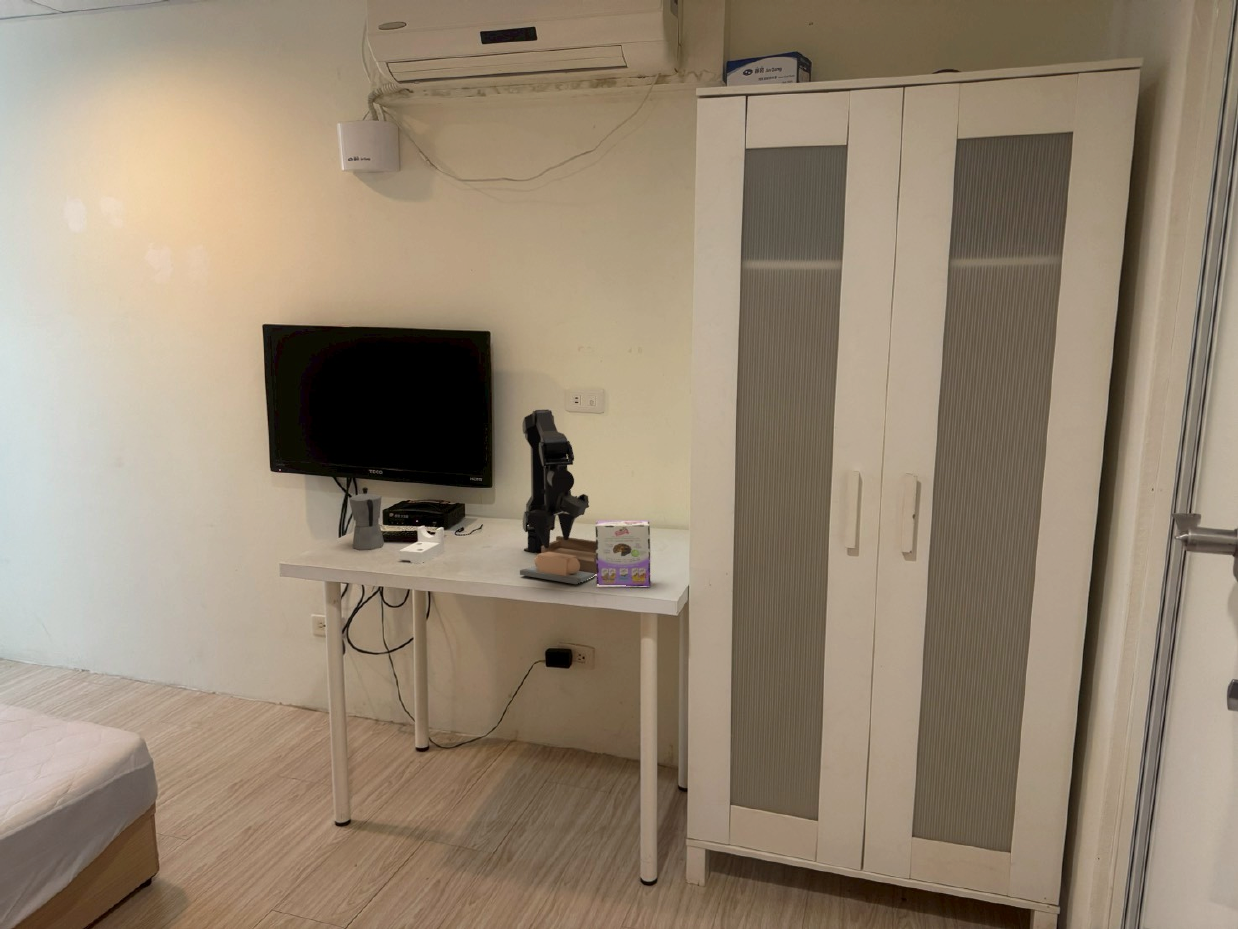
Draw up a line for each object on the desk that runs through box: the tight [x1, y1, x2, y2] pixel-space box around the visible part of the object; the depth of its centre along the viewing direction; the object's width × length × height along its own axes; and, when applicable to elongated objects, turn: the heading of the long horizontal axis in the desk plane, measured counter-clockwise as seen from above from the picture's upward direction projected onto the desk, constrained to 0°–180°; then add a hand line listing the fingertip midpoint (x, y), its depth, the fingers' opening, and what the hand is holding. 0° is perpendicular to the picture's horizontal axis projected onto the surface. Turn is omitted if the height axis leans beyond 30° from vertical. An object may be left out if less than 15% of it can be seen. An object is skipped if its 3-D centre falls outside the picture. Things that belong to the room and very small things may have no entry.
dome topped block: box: [534, 552, 580, 576], centre depth 230 cm, size 5×13×4 cm, turn 61°
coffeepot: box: [349, 486, 385, 551], centre depth 261 cm, size 15×9×18 cm, turn 26°
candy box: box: [594, 519, 651, 587], centre depth 224 cm, size 14×6×16 cm, turn 88°
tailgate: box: [519, 565, 595, 585], centre depth 231 cm, size 1×18×9 cm
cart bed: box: [541, 535, 596, 574], centre depth 239 cm, size 8×18×7 cm, turn 61°
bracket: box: [398, 525, 445, 564], centre depth 252 cm, size 13×7×8 cm, turn 163°
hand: (556, 544), depth 229 cm, fingers open, 9 cm apart
